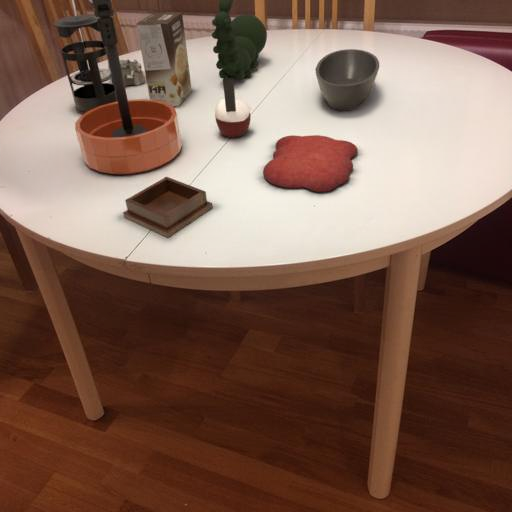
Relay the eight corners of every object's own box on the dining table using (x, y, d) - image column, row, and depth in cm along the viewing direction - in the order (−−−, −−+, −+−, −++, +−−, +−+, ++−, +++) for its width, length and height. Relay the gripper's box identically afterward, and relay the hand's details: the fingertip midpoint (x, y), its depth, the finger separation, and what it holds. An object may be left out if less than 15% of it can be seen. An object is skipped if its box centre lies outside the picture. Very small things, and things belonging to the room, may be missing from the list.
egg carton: (145, 85, 119) (142, 66, 116) (112, 89, 117) (108, 71, 115) (141, 70, 127) (138, 53, 124) (110, 74, 126) (106, 57, 123)
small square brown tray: (167, 237, 70) (164, 220, 68) (124, 217, 75) (119, 200, 73) (212, 207, 75) (210, 190, 74) (169, 190, 80) (166, 174, 78)
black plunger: (130, 156, 87) (99, 13, 73) (107, 147, 90) (73, 9, 76) (156, 143, 90) (132, 4, 77) (133, 135, 93) (106, 0, 80)
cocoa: (228, 122, 99) (222, 58, 92) (259, 126, 97) (255, 60, 90) (206, 144, 92) (198, 75, 85) (238, 148, 90) (233, 78, 83)
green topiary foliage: (249, 96, 114) (275, 51, 131) (240, 4, 101) (270, -32, 119) (208, 94, 116) (239, 50, 134) (195, 4, 103) (231, -32, 121)
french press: (128, 108, 108) (102, -16, 94) (83, 119, 104) (49, -8, 90) (111, 92, 116) (85, -24, 102) (68, 102, 112) (35, -17, 98)
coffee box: (179, 107, 107) (167, 23, 97) (150, 106, 108) (134, 23, 98) (192, 90, 114) (182, 11, 104) (165, 90, 115) (152, 11, 105)
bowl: (308, 117, 99) (308, 84, 95) (323, 77, 116) (323, 48, 112) (373, 120, 97) (376, 87, 93) (379, 79, 113) (381, 49, 110)
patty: (280, 138, 93) (280, 127, 91) (360, 143, 89) (361, 132, 88) (254, 187, 79) (253, 176, 78) (346, 196, 76) (347, 184, 75)
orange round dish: (128, 186, 82) (119, 148, 78) (65, 160, 90) (54, 124, 86) (201, 146, 92) (196, 111, 88) (138, 126, 100) (131, 92, 96)
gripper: (52, -95, 74) (83, 35, 84) (51, -88, 63) (86, 59, 74) (106, -99, 75) (130, 29, 86) (113, -93, 65) (139, 52, 75)
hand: (110, 42), depth 80 cm, fingers closed on black plunger
